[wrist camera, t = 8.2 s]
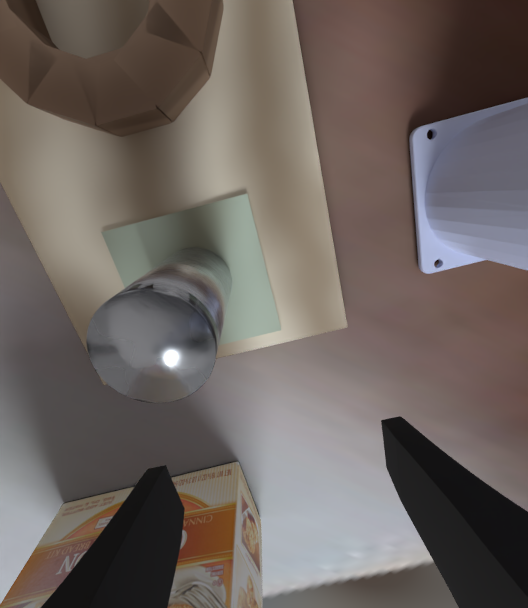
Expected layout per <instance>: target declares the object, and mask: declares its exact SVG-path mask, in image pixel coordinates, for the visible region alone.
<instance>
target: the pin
mask: <svg viewBox="0 0 528 608" xmlns="http://www.w3.org/2000/svg"><path fill="white" fill-rule="evenodd" d="M231 291H232V277H231V273H230V270H229V268H228V266H227V265H226V263H225V262H224V261H223V260H222V258H220V257H219V256H218V255H217V254H215V253H214V252H212V251H210V250H207V249H204V248H198V247H190V248H185V249H182V250H180V251H178V252H176V253H174V254H173V255H171V256H170V257H169V258H167V259H166V260H164V261H163V262H162V263H160V264H159V265H157V266H156V267H154V268H153V269H152V270H150V271H149V272H147V273H146V274H144V275H143V276H142V277H140V278H139V279H137V280H136V281H134V282H133V283H132V284H130V285H129V286H127V287H126V288H125V289H123V290H122V291H120V292H119V293H117V294H116V295H115V296H113V297H112V298H110V299H109V300H107V301H106V302H105V303H104V304H103V305H101V306H100V307H99V309H98V310H97V311H96V312H95V314H94V315H93V317H92V319H91V321H90V324H89V326H88V330H87V339H86V343H87V351H88V355H89V358H90V360H91V363H92V365H93V367H94V368H95V370H96V371H97V373H98V374H99V375H100V377H101V378H102V379H103V380H104V381H105V382H106V383H107V384H108V385H109V386H111V387H112V388H113V389H115V390H116V391H118V392H119V393H121V394H123V395H125V396H127V397H130V398H132V399H135V400H139V401H143V402H149V403H166V402H172V401H176V400H180V399H182V398H185V397H187V396H189V395H191V394H192V393H194V392H195V391H197V390H198V389H199V388H200V387H201V386H202V385H203V384H204V383H205V382H206V380H207V379H208V378H209V376H210V374H211V372H212V369H213V367H214V363H215V359H216V355H217V351H218V346H219V342H220V338H221V333H222V329H223V325H224V321H225V316H226V312H227V308H228V304H229V299H230V295H231Z"/></svg>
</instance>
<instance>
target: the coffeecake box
mask: <svg viewBox="0 0 528 608" xmlns="http://www.w3.org/2000/svg"><path fill="white" fill-rule="evenodd" d="M171 479H172V481H173V483H174V486H175V488H176V490H177V492H178V495H179V497H180V499H181V501H182V504H183V506H184V508H185V511H184V521H183V531H182V539H181V547H180V552H179V556H178V561H177V566H176V571H175V575H174V580H173V585H172V589H171V594H170V598H169V603H168V607H167V608H262V539H261V520H260V517H259V515H258V512H257V509H256V506H255V504H254V501H253V499H252V496H251V493H250V491H249V488H248V486H247V482H246V479H245V477H244V474H243V472H242V469H241V467H240V464H239V462H233V463H229V464H225V465H221V466H217V467H213V468H209V469H205V470H200V471H196V472H192V473H188V474H184V475H180V476H176V477H172V478H171ZM133 489H134V487H131V488H126V489H122V490H118V491H114V492H110V493H106V494H101V495H97V496H93V497H89V498H85V499H81V500H77V501H72V502H68V503H64V504H63V505H62V506H61V508H60V510H59V512H58V513H57V515H56V517H55V518H54V520H53V521H52V523H51V524H50V526H49V528H48V529H47V531H46V532H45V534H44V535H43V537H42V539H41V540H40V542H39V544H38V545H37V547H36V548H35V550H34V552H33V553H32V555H31V556H30V558H29V560H28V561H27V563H26V564H25V566H24V568H23V569H22V571H21V572H20V574H19V576H18V577H17V579H16V580H15V582H14V584H13V585H12V587H11V588H10V590H9V592H8V593H7V595H6V596H5V598H4V600H3V601H2V603H1V604H0V608H41V606H42V605H43V604H44V603H45V602H46V601H47V600H48V598H49V597H50V596H51V595H52V594H53V593H54V591H55V590H56V589H57V588H58V587H59V585H60V584H61V583H62V582H63V581H64V579H65V578H66V577H67V576H68V574H69V573H70V572H71V570H72V569H73V568H74V567H75V565H76V564H77V563H78V562H79V560H80V559H81V558H82V557H83V555H84V554H85V553H86V552H87V550H88V549H89V548H90V547H91V545H92V544H93V543H94V541H95V540H96V539H97V538H98V536H99V535H100V534H101V532H102V531H103V530H104V528H105V527H106V525H107V524H108V523H109V521H110V520H111V519H112V517H113V516H114V515H115V513H116V512H117V511H118V509H119V508H120V507H121V505H122V504H123V502H124V501H125V500H126V498H127V497H128V496H129V494H130V493H131V491H132V490H133Z"/></svg>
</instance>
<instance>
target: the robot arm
mask: <svg viewBox="0 0 528 608" xmlns="http://www.w3.org/2000/svg"><path fill="white" fill-rule="evenodd" d="M429 130H431V131H432V133H433V136H432V138H431V140H429V139H428V138H427V132H428V131H429ZM409 142H410V155H411V169H412V182H413V196H414V209H415V223H416V236H417V250H418V263H419V269H420V270H421V271H422V272H424V273H427V274H429V273H434V272H438V271H442V270H446V269H450V268H454V267H459V266H463V265H467V264H471V263H475V262H479V261H483V260H490V261H494V262H498V263H501V264H505V265H509V266H513V267H516V268H520V269H524V270H528V98H524V99H520V100H516V101H513V102H509V103H505V104H502V105H498V106H494V107H490V108H487V109H483V110H479V111H476V112H472V113H468V114H464V115H461V116H457V117H453V118H450V119H446V120H442V121H438V122H435V123H431V124H427V125H423V126H420V127H418V128H416V129H414V130H413V131H412V133H411V135H410V139H409ZM438 259H439V264H438V265H437V266H434V262H435V261H436V260H438ZM381 422H382V431H383V440H384V448H385V457H386V466H387V470H388V472H389V474H390V477H391V479H392V481H393V484H394V486H395V488H396V491H397V493H398V495H399V497H400V500H401V502H402V504H403V506H404V508H405V509H406V511H407V513H408V515H409V517H410V519H411V520H412V522H413V524H414V526H415V528H416V530H417V531H418V533H419V535H420V537H421V539H422V540H423V542H424V544H425V546H426V548H427V549H428V551H429V553H430V555H431V557H432V558H433V560H434V562H435V564H436V566H437V567H438V569H439V571H440V573H441V575H442V577H443V578H444V580H445V582H446V584H447V586H448V587H449V589H450V591H451V593H452V595H453V597H454V599H455V601H456V603H457V605H458V606H459V608H528V512H527V511H526V510H524V509H523V508H521V507H520V506H518V505H517V504H515V503H514V502H512V501H511V500H509V499H508V498H506V497H505V496H503V495H502V494H500V493H499V492H498V491H496V490H495V489H493V488H492V487H490V486H489V485H487V484H486V483H485V482H483V481H482V480H480V479H479V478H478V477H476V476H475V475H474V474H472V473H471V472H470V471H468V470H467V469H466V468H464V467H463V466H462V465H460V464H459V463H458V462H456V461H455V460H454V459H452V458H451V457H450V456H448V455H447V454H446V453H445V452H443V451H442V450H441V449H440V448H438V447H437V446H436V445H435V444H433V443H432V442H431V441H430V440H428V439H427V438H426V437H425V436H424V435H422V434H421V433H420V432H419V431H418V430H416V429H415V428H414V427H413V426H412V425H410V424H409V423H408V422H407V421H406V420H405V419H403V418H402V417H395V418H390V419H385V420H381ZM184 511H185V508H184V506H183V504H182V501H181V499H180V497H179V495H178V492H177V490H176V488H175V486H174V483H173V481H172V479H171V476H170V474H169V472H168V470H167V467H166V465H165V466H160V467H156V468H151V469H148V470H147V471H146V472H145V474H144V475H143V476H142V478H141V479H140V480H139V482H138V483H137V484H136V486H135V487H134V489H133V490H132V491H131V493H130V494H129V496H128V497H127V498H126V500H125V501H124V502H123V504H122V505H121V507H120V508H119V509H118V511H117V512H116V513H115V515H114V516H113V517H112V519H111V520H110V521H109V523H108V524H107V525H106V527H105V528H104V530H103V531H102V532H101V534H100V535H99V536H98V538H97V539H96V540H95V541H94V543H93V544H92V545H91V547H90V548H89V549H88V550H87V552H86V553H85V554H84V555H83V557H82V558H81V559H80V560H79V562H78V563H77V564H76V565H75V567H74V568H73V569H72V570H71V572H70V573H69V574H68V576H67V577H66V578H65V579H64V581H63V582H62V583H61V584H60V585H59V587H58V588H57V589H56V590H55V591H54V593H53V594H52V595H51V596H50V597H49V598H48V600H47V601H46V602H45V603H44V604H43V605H42V606H41V608H167V607H168V603H169V598H170V594H171V589H172V585H173V580H174V575H175V571H176V566H177V561H178V556H179V552H180V547H181V539H182V531H183V521H184Z"/></svg>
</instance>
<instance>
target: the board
mask: <svg viewBox="0 0 528 608" xmlns="http://www.w3.org/2000/svg"><path fill="white" fill-rule="evenodd" d="M0 182H1V184H2V186H3V188H4V190H5V192H6V194H7V196H8V198H9V200H10V202H11V204H12V206H13V208H14V210H15V212H16V214H17V216H18V218H19V220H20V222H21V224H22V226H23V228H24V230H25V232H26V234H27V236H28V238H29V240H30V242H31V243H32V245H33V247H34V249H35V251H36V253H37V255H38V257H39V259H40V261H41V263H42V265H43V267H44V269H45V271H46V273H47V275H48V277H49V279H50V281H51V283H52V285H53V287H54V289H55V291H56V293H57V295H58V297H59V299H60V301H61V303H62V304H63V306H64V308H65V310H66V312H67V314H68V316H69V318H70V320H71V322H72V324H73V326H74V328H75V330H76V332H77V334H78V336H79V338H80V340H81V342H82V344H83V346H84V348H85V350H86V352H87V354H88V351H87V343H86V339H87V330H88V326H89V324H90V321H91V319H92V317H93V315H94V314H95V312H96V311H97V310H98V309H99V307H100V306H101V305H103V304H104V303H105V302H106V301H107V300H109V299H110V298H112V297H113V296H115V295H116V294H117V293H119V292H120V291H122V290H123V289H125V288H126V287H127V286H129V285H130V284H132V283H133V282H134V281H136V280H137V279H139V278H140V277H142V276H143V275H144V274H146V273H147V272H149V271H150V270H152V269H153V268H154V267H156V266H157V265H159V264H160V263H162V262H163V261H164V260H166V259H167V258H169V257H170V256H171V255H173V254H174V253H176V252H178V251H180V250H182V249H185V248H190V247H198V248H204V249H207V250H210V251H212V252H214V253H215V254H217V255H218V256H219V257H220V258H222V260H223V261H224V262H225V263H226V265H227V266H228V268H229V270H230V273H231V277H232V291H231V295H230V299H229V304H228V308H227V312H226V316H225V321H224V325H223V329H222V333H221V338H220V342H219V346H218V351H217V355H216V359H217V358H221V357H225V356H229V355H234V354H238V353H242V352H246V351H250V350H255V349H259V348H263V347H267V346H271V345H276V344H280V343H284V342H288V341H292V340H296V339H301V338H305V337H309V336H313V335H317V334H322V333H326V332H330V331H334V330H338V329H343V328H347V322H346V316H345V310H344V304H343V298H342V292H341V286H340V280H339V274H338V268H337V262H336V256H335V250H334V244H333V238H332V232H331V226H330V221H329V215H328V209H327V203H326V197H325V191H324V185H323V179H322V173H321V167H320V161H319V155H318V149H317V143H316V137H315V131H314V126H313V120H312V114H311V108H310V102H309V96H308V90H307V84H306V78H305V72H304V66H303V60H302V54H301V48H300V42H299V36H298V30H297V25H296V19H295V13H294V7H293V1H292V0H0ZM88 356H89V355H88ZM98 375H99V374H98ZM99 377H100V375H99ZM100 379H101V381H102V383H103V385H108V384H107V383H106V382H105V381H104V380H103V379H102V378H101V377H100Z"/></svg>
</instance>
